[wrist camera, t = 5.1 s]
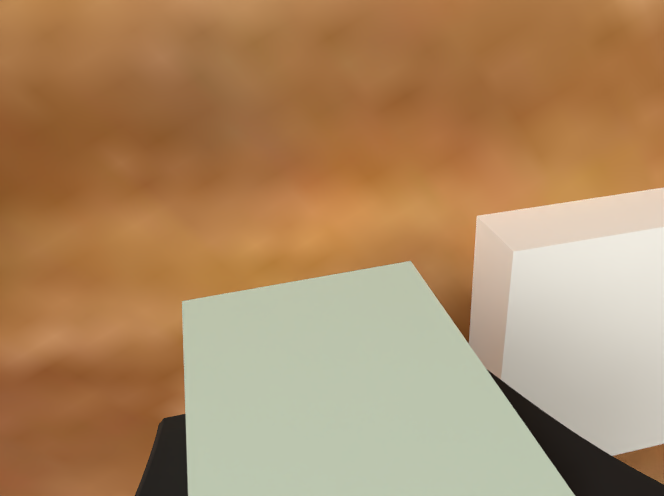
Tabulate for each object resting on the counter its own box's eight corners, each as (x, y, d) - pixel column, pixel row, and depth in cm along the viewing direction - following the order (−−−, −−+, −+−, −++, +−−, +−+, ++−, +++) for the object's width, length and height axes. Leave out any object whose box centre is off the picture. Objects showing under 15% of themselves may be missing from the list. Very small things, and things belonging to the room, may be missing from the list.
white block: (669, 382, 28) (720, 430, 25) (459, 427, 26) (490, 483, 24) (725, 172, 23) (795, 204, 21) (471, 211, 22) (513, 251, 19)
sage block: (412, 428, 15) (544, 706, 10) (219, 471, 14) (247, 798, 9) (410, 261, 13) (580, 503, 7) (182, 301, 12) (191, 601, 7)
